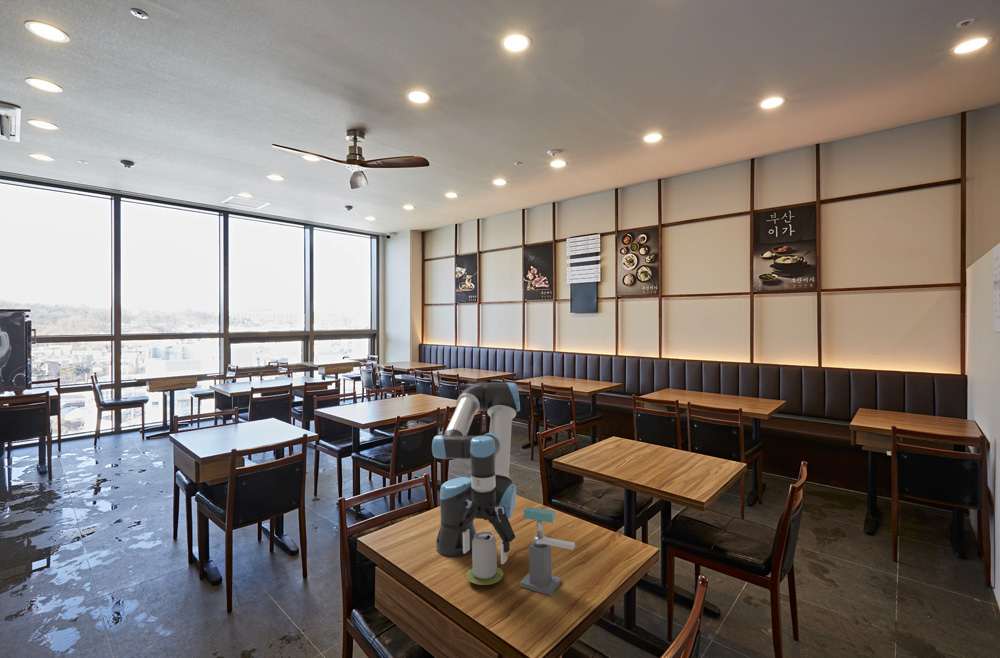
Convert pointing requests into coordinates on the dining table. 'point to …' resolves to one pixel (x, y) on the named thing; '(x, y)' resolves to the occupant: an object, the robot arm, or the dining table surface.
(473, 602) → the dining table surface
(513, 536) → the robot arm
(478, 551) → the can
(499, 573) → the mat
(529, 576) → the grey pedestal post
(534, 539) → the teal grip latch lever
